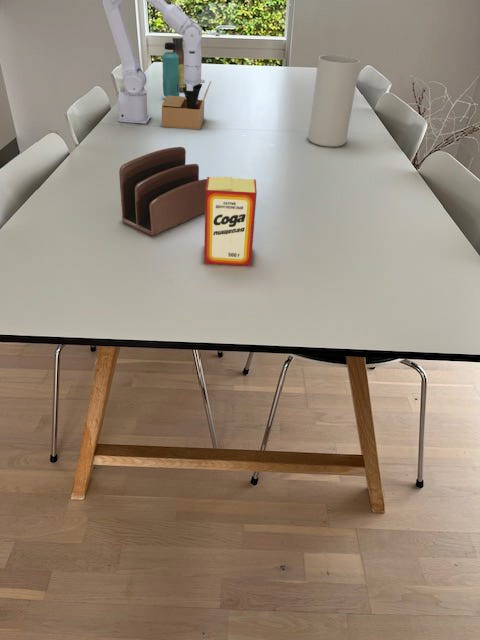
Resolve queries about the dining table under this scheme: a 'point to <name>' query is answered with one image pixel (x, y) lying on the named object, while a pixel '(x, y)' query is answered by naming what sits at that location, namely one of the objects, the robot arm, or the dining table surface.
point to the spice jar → (196, 104)
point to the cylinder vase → (333, 99)
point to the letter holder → (161, 191)
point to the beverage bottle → (170, 71)
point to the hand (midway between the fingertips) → (192, 108)
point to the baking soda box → (229, 220)
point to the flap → (205, 94)
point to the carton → (181, 113)
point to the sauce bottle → (180, 59)
